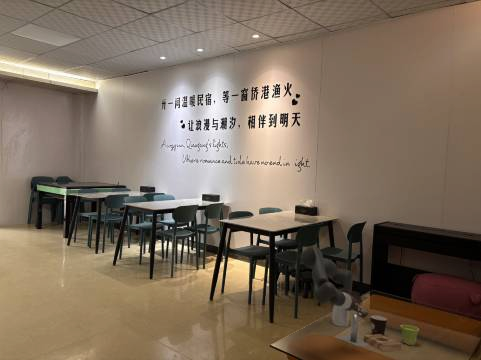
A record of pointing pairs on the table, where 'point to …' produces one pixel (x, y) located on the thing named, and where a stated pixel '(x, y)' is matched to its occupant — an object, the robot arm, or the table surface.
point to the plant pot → (409, 334)
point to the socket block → (382, 342)
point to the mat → (358, 343)
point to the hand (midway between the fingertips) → (361, 308)
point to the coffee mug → (378, 324)
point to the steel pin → (354, 328)
